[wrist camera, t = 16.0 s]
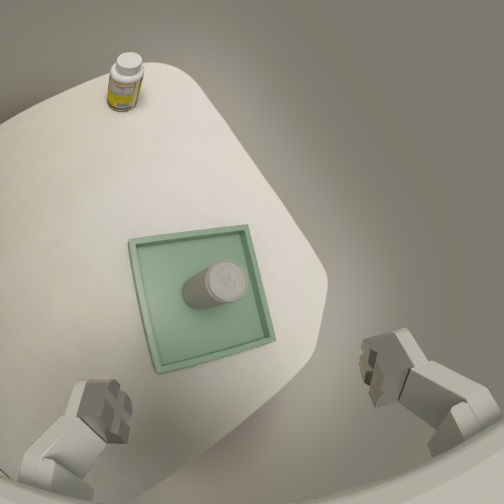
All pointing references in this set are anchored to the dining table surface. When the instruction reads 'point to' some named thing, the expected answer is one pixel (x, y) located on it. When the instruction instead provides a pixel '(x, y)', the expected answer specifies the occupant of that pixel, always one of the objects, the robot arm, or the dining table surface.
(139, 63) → the supplement bottle
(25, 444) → the dining table surface
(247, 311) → the green tray
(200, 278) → the beverage can
